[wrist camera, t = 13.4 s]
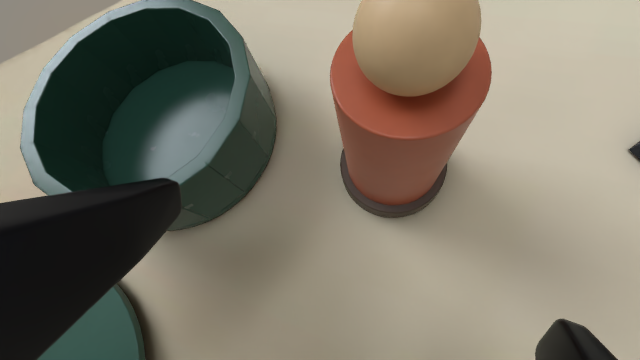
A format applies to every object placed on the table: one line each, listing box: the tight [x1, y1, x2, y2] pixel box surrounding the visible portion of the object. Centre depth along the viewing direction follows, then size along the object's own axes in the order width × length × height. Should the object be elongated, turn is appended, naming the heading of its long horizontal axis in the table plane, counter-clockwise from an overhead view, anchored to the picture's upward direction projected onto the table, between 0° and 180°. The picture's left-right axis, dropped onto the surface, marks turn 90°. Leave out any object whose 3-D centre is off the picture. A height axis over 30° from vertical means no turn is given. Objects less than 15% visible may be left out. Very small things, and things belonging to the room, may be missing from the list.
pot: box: [20, 0, 276, 231], centre depth 19 cm, size 13×13×5 cm
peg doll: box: [330, 0, 492, 218], centre depth 12 cm, size 6×6×12 cm
